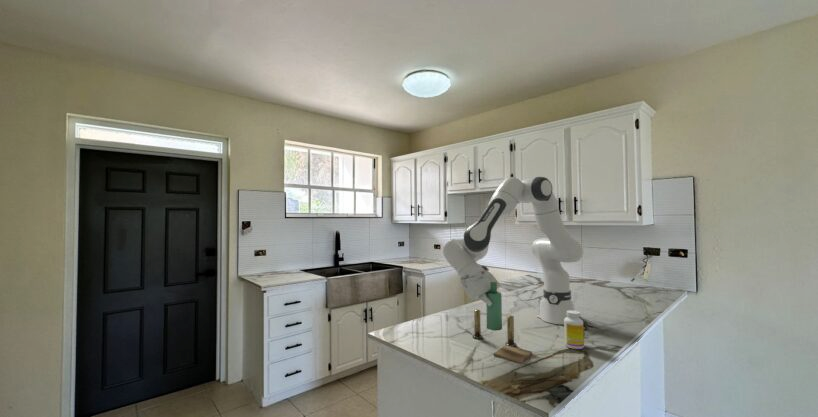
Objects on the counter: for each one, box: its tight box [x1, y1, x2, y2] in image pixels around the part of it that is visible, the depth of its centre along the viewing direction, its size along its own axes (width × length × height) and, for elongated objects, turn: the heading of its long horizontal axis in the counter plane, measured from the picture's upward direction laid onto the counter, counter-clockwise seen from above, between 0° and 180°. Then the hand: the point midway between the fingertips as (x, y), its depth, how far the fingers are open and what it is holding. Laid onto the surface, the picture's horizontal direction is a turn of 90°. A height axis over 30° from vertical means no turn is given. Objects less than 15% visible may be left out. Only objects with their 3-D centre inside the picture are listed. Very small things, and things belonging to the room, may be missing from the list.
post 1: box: [472, 308, 483, 340], centre depth 135 cm, size 4×4×11 cm
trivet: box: [493, 345, 533, 364], centre depth 117 cm, size 10×10×1 cm
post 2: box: [504, 315, 517, 348], centre depth 126 cm, size 4×4×11 cm
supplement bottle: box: [563, 310, 585, 350], centre depth 125 cm, size 7×7×13 cm
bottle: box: [485, 282, 503, 331], centre depth 125 cm, size 6×6×17 cm
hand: (495, 303), depth 124 cm, fingers closed on bottle, 6 cm apart
